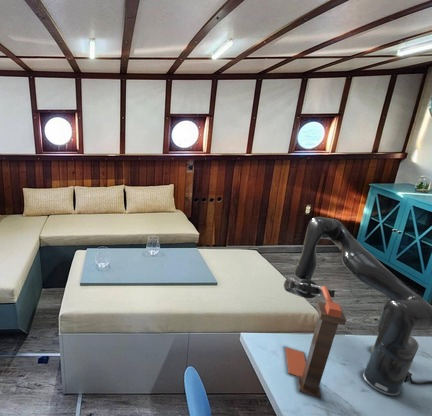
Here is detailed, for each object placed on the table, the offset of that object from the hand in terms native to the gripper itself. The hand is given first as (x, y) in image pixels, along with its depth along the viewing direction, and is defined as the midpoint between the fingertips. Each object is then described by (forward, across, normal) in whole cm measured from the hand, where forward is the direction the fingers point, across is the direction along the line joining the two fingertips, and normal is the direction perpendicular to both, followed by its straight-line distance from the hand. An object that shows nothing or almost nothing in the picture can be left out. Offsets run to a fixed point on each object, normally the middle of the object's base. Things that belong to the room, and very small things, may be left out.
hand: (315, 289), depth 105 cm
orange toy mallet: (+16, 0, +3) cm, 16 cm away
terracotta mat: (-4, -2, +28) cm, 28 cm away
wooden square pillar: (+4, 0, +33) cm, 33 cm away
